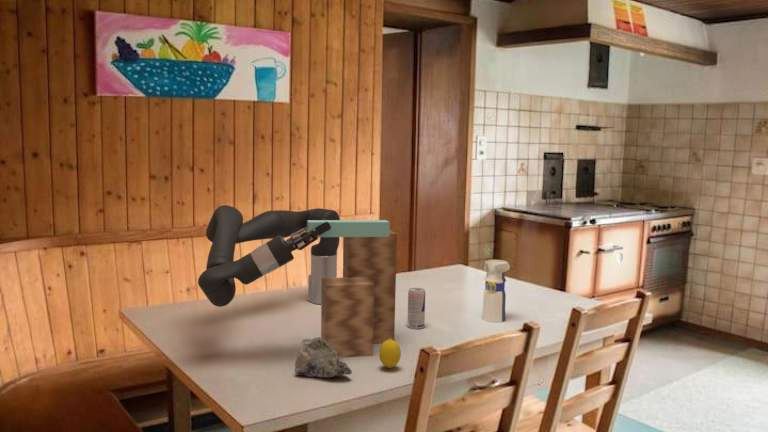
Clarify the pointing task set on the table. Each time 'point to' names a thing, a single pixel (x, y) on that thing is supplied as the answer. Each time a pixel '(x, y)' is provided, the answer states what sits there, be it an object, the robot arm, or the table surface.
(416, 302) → the energy drink
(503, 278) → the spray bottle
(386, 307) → the tall stand
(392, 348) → the lemon
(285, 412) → the table surface
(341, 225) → the teal bar
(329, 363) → the mineral rock
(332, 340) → the low stand
